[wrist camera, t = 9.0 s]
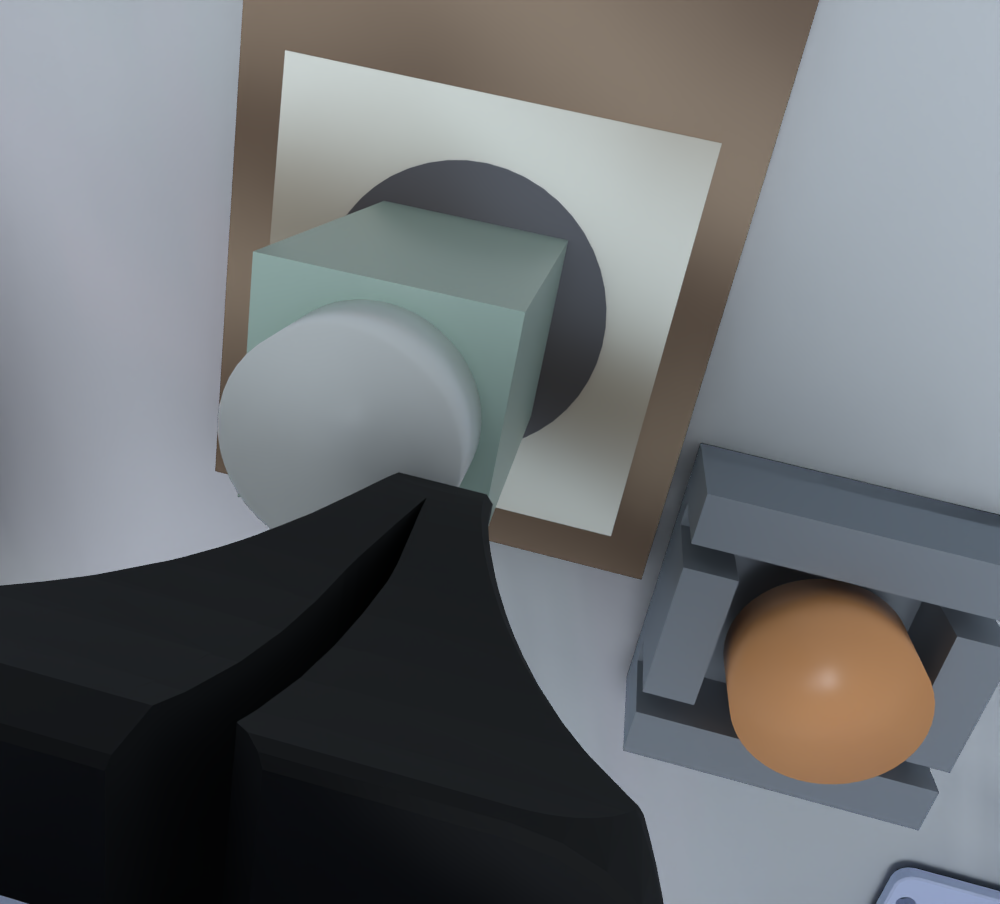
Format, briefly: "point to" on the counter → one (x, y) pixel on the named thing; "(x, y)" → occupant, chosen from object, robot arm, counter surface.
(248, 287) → the drawing board
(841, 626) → the button
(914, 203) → the counter surface
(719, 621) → the button housing
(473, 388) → the green square bottle
